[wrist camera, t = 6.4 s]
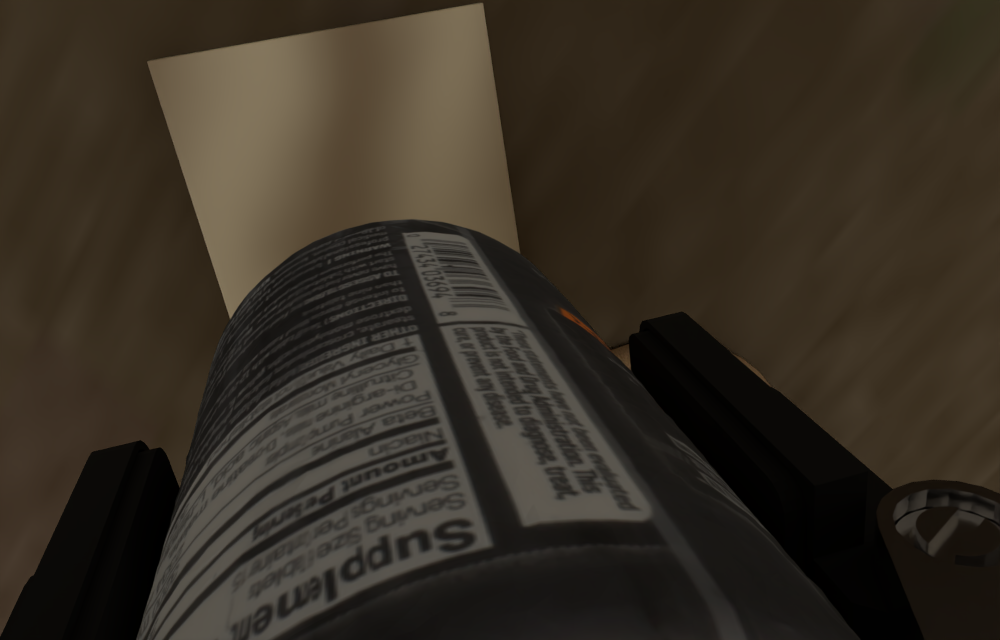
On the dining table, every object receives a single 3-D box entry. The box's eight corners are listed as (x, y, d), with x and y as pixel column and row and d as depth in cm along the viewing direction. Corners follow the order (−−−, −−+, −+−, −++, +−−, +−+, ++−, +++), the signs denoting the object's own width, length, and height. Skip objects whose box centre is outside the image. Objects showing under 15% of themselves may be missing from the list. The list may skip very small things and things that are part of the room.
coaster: (478, 2, 25) (482, 3, 24) (522, 294, 29) (527, 300, 28) (150, 59, 23) (146, 61, 23) (246, 358, 27) (245, 365, 27)
